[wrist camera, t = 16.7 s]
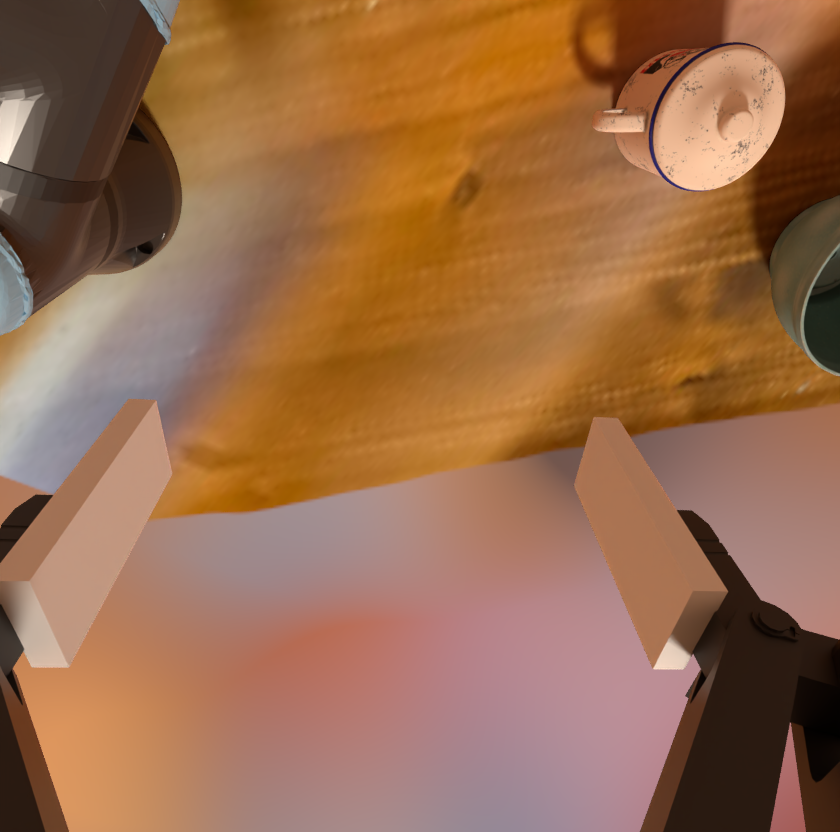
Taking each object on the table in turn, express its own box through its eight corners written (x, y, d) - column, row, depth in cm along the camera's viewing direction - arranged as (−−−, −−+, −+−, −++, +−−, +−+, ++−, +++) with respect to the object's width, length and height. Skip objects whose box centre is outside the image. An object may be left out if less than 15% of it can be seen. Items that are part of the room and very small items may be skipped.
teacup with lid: (734, 43, 43) (836, 38, 33) (704, 170, 48) (785, 198, 38) (582, 48, 42) (639, 44, 33) (567, 175, 47) (613, 204, 38)
